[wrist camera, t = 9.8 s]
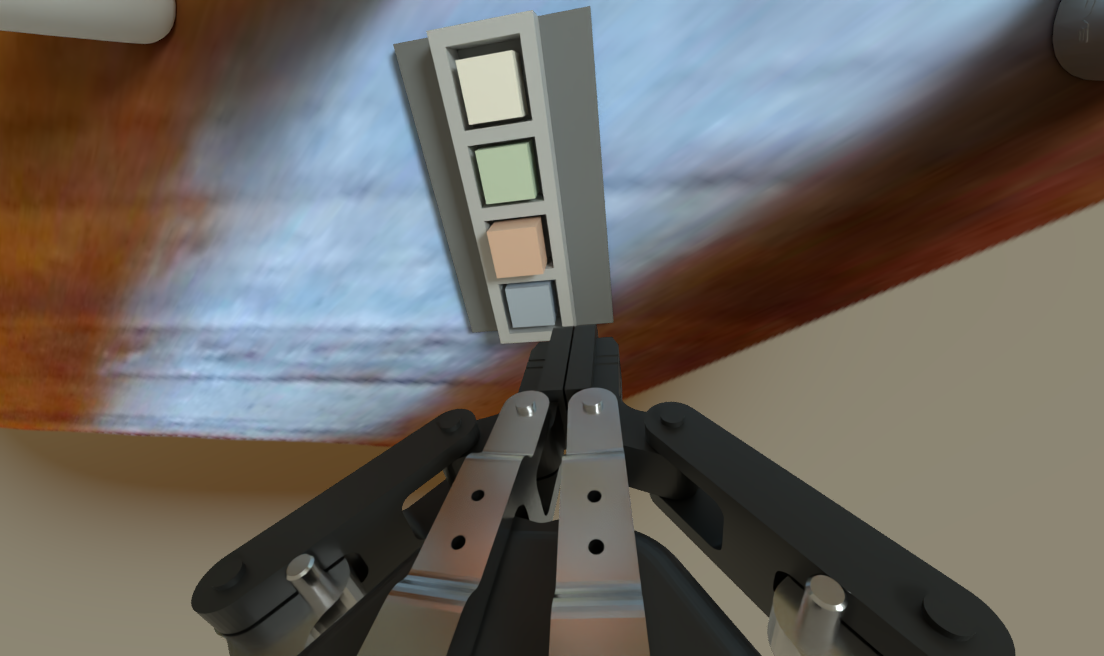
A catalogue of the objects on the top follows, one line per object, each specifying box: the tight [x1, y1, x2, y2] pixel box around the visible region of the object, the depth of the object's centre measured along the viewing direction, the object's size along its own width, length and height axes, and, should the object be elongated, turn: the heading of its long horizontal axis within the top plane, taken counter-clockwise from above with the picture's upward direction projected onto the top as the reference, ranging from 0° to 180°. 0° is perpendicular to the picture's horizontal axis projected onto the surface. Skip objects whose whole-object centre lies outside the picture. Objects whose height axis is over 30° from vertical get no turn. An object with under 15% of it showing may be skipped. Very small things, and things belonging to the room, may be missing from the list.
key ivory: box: [455, 50, 528, 125], centre depth 28 cm, size 4×4×3 cm
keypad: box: [393, 6, 613, 344], centre depth 33 cm, size 14×24×4 cm, turn 8°
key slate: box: [505, 280, 558, 328], centre depth 36 cm, size 4×4×3 cm
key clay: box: [487, 216, 547, 278], centre depth 32 cm, size 4×4×3 cm
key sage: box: [475, 139, 540, 204], centre depth 31 cm, size 4×4×3 cm
